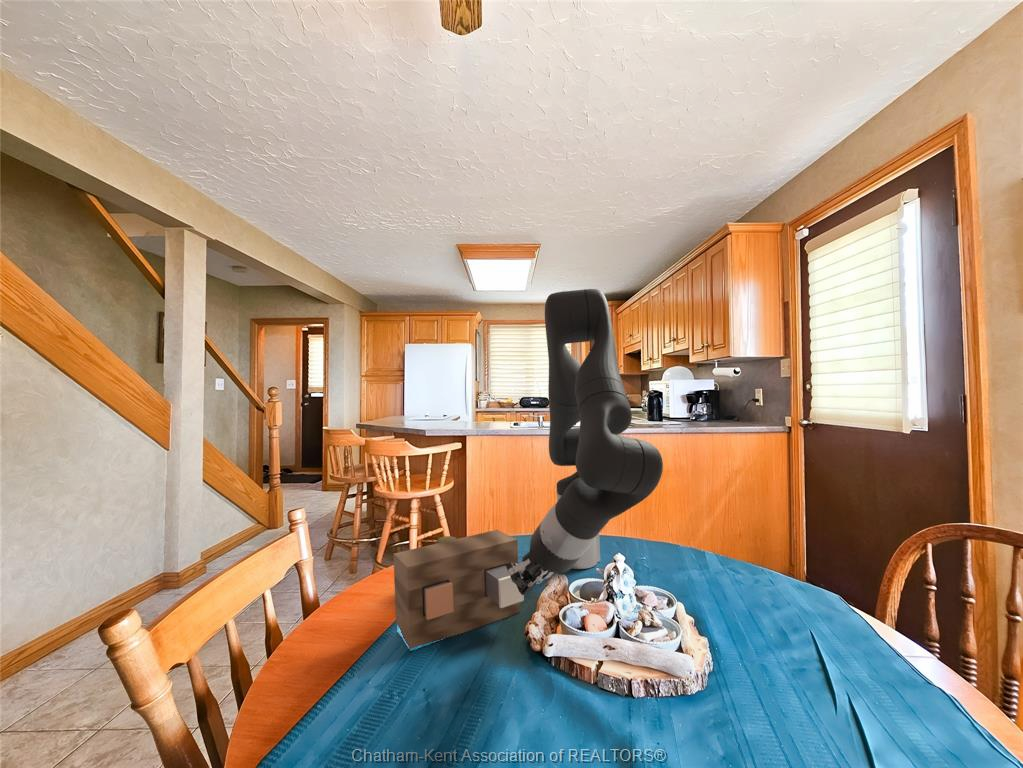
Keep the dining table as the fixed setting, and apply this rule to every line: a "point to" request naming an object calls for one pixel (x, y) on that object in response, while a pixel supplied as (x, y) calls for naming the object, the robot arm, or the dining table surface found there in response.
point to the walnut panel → (464, 571)
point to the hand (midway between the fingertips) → (522, 588)
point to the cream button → (501, 586)
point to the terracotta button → (437, 599)
